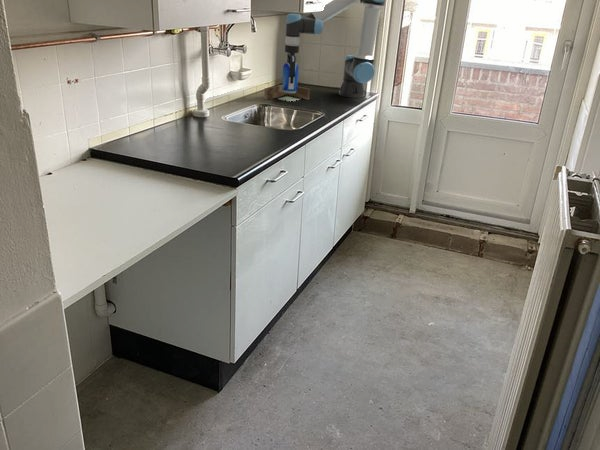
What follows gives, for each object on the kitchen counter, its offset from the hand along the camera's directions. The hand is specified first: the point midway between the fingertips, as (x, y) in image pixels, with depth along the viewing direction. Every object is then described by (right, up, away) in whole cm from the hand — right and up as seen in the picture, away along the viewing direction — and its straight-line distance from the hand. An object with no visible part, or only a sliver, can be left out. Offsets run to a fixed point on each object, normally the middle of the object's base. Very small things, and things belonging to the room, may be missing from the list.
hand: (289, 87), depth 295 cm
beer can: (0, -2, +1) cm, 3 cm away
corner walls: (-1, -6, +2) cm, 7 cm away
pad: (0, -6, +3) cm, 7 cm away
